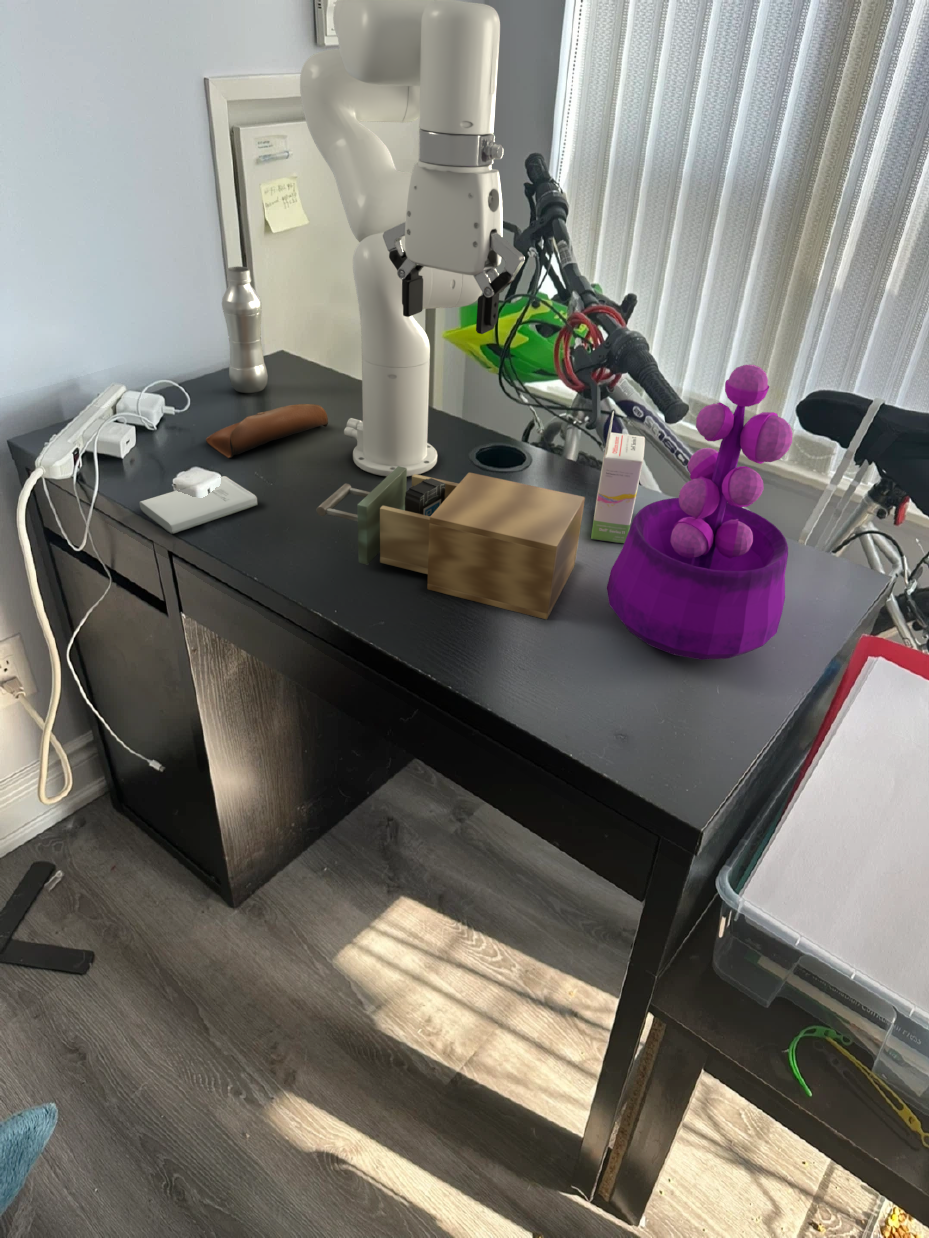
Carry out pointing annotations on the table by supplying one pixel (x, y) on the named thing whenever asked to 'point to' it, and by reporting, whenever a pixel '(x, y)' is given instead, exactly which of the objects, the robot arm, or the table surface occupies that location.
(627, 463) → the ink box
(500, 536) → the cabinet
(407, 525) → the drawer
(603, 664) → the table surface
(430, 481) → the ink cartridge
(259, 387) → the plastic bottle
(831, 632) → the table surface
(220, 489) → the hard drive
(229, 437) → the sunglasses case
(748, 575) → the decorative plant
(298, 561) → the table surface
